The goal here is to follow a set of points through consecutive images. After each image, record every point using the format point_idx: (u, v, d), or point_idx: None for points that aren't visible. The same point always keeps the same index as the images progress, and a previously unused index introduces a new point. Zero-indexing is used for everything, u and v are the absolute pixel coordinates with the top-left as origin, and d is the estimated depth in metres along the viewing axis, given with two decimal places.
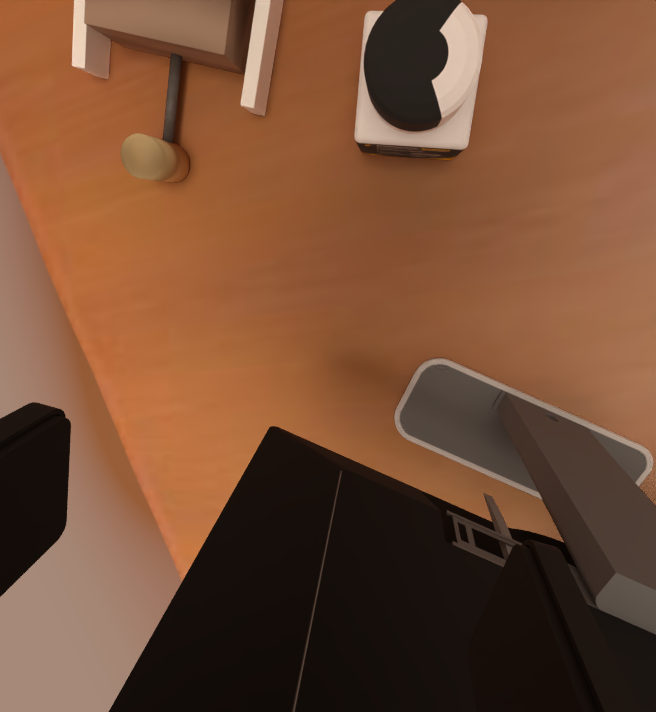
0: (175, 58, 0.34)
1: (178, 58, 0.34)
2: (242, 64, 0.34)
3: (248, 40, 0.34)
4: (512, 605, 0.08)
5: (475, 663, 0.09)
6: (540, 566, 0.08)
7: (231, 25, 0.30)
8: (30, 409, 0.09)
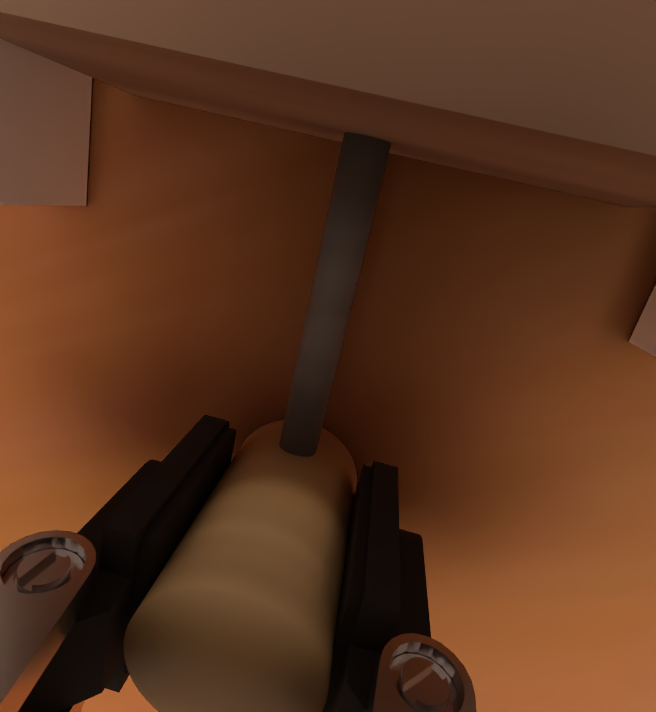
0: (368, 155, 0.07)
1: (381, 154, 0.07)
2: None
3: None
4: (352, 513, 0.09)
5: None
6: (373, 478, 0.09)
7: None
8: (208, 421, 0.10)
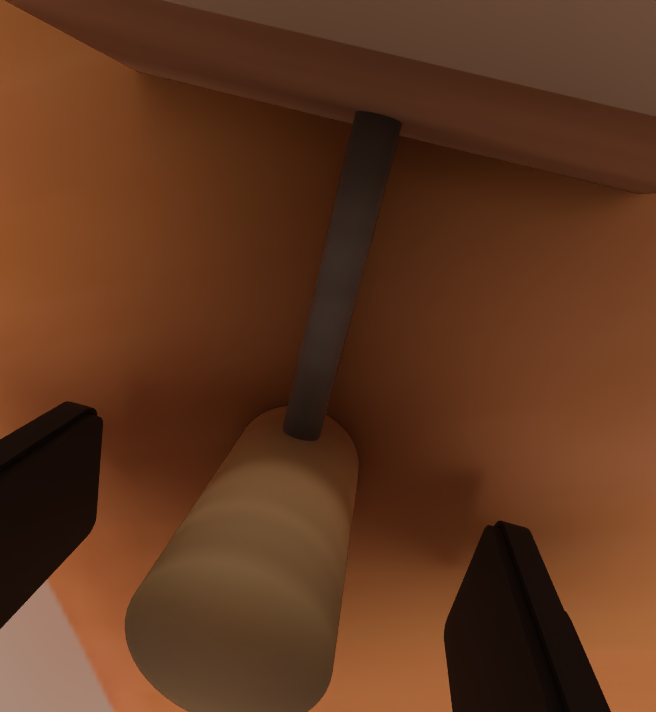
0: (379, 134, 0.07)
1: (392, 134, 0.07)
2: None
3: None
4: (482, 582, 0.08)
5: (450, 641, 0.09)
6: (508, 545, 0.08)
7: None
8: (65, 408, 0.09)
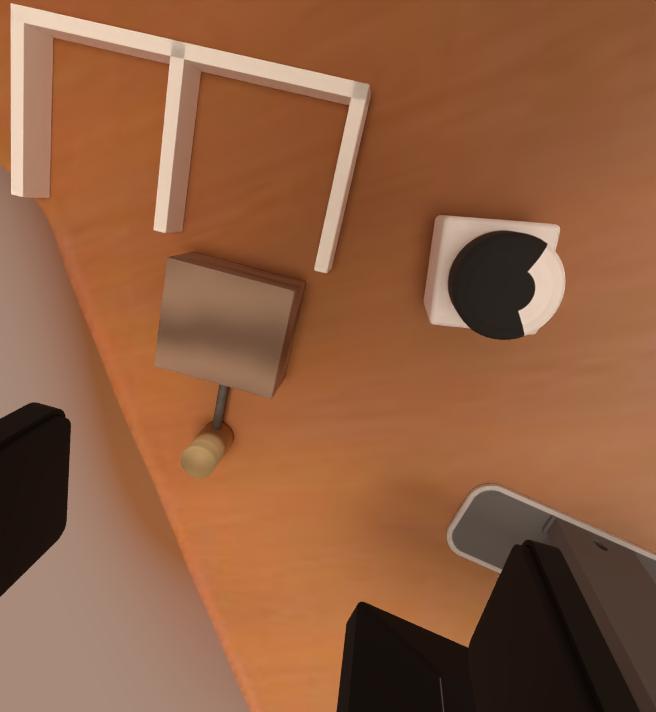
0: None
1: None
2: (282, 378, 0.40)
3: (288, 358, 0.40)
4: (512, 605, 0.08)
5: (476, 664, 0.09)
6: (540, 566, 0.08)
7: (277, 375, 0.37)
8: (30, 409, 0.09)
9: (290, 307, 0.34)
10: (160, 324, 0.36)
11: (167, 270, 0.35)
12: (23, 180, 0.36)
